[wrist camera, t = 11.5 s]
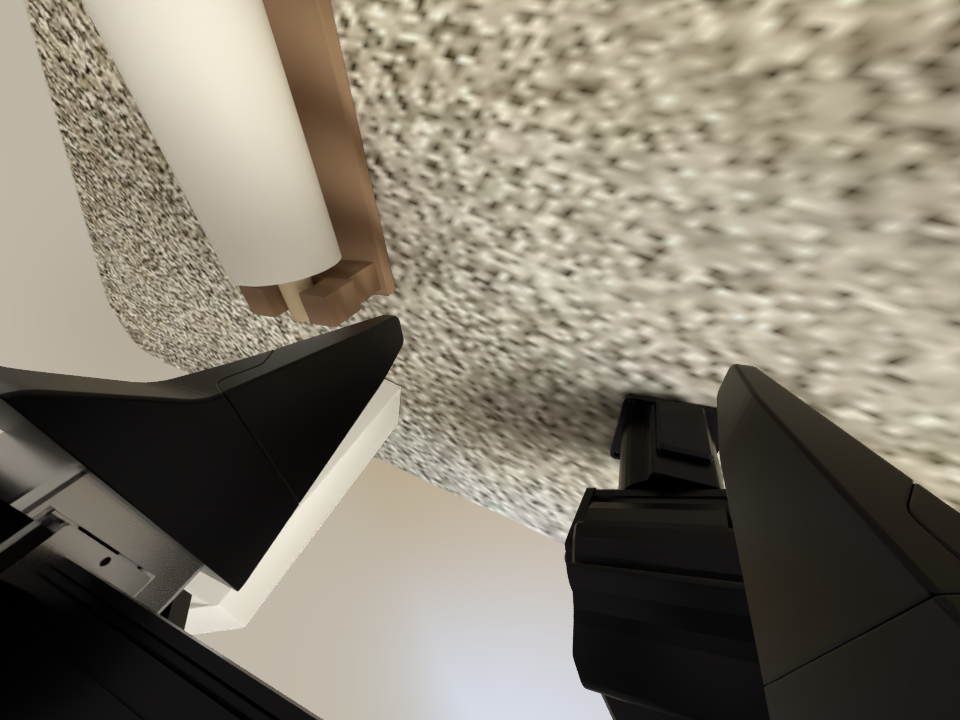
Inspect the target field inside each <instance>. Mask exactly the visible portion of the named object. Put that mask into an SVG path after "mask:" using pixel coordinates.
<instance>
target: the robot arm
mask: <svg viewBox="0 0 960 720" xmlns="http://www.w3.org/2000/svg"><path fill="white" fill-rule="evenodd" d="M403 341H404V339H403V334H402V329H401V325H400V321H399V319H398V317H396V316H393V315H381V316H378V317H375V318H372V319H369V320H366V321H363V322H359V323H356V324H353V325H350V326H347V327H344V328H340V329H337V330H334V331H331V332H328V333H325V334H322V335H318V336H315V337H312V338H309V339H306V340H303V341H300V342H296V343H293V344H290V345H287V346H284V347H281V348H278V349H276V350H271V351H268V352H265V353H262V354H258V355H255V356H252V357H249V358H245V359H242V360H239V361H235V362H232V363H228V364H225V365H221V366H217V367H214V368H210V369H206V370H203V371H199V372H195V373H192V374H188V375H185V376H181V377H177V378H174V379H169V380H165V381H158V382H147V383H142V382H141V383H140V382H127V381H118V380H109V379H100V378H91V377H82V376H73V375H64V374H54V373H46V372H37V371H29V370H21V369H14V368H7V367H2V366H0V429H1V430H2V431H4V432H3V433H1V434H0V720H323V719H321V718H320V717H318V716H316V715H315V714H313V713H311V712H310V711H309V710H307V709H305V708H304V707H302V706H301V705H299V704H298V703H296V702H295V701H293V700H292V699H290V698H288V697H287V696H285V695H284V694H282V693H281V692H279V691H278V690H276V689H275V688H273V687H271V686H270V685H268V684H266V683H265V682H264V681H262V680H261V679H259V678H257V677H256V676H254V675H253V674H251V673H250V672H248V671H247V670H245V669H243V668H242V667H240V666H239V665H237V664H236V663H234V662H233V661H231V660H229V659H228V658H226V657H225V656H223V655H222V654H220V653H218V652H217V651H215V650H214V649H212V648H210V647H209V646H208V645H206V644H205V643H203V642H201V641H200V640H198V639H197V638H195V637H194V636H192V635H191V634H189V633H187V632H186V631H184V629H185V625H186V620H187V616H188V611H189V607H190V602H191V598H192V595H191V594H190V593H189V592H187V591H186V590H184V588H185V587H186V586H187V585H188V584H189V583H190V582H191V580H192V579H193V578H194V577H195V576H196V575H197V574H198V573H199V572H202V573H204V574H206V575H208V576H210V577H211V578H213V579H215V580H217V581H219V582H221V583H222V584H224V585H226V586H228V587H230V588H232V589H233V590H235V591H237V592H238V591H239V590H240V589H241V588H242V587H243V586H244V584H245V583H246V582H247V580H248V579H249V577H250V576H251V574H252V573H253V571H254V570H255V568H256V567H257V566H258V564H259V563H260V561H261V560H262V558H263V557H264V555H265V554H266V552H267V551H268V549H269V548H270V547H271V545H272V544H273V542H274V541H275V539H276V538H277V536H278V535H279V533H280V532H281V530H282V529H283V528H284V526H285V525H286V523H287V522H288V520H289V519H290V517H291V516H292V514H293V513H294V511H295V510H296V509H297V507H298V506H299V503H300V502H301V501H302V499H303V498H304V496H305V495H306V494H307V492H308V491H309V489H310V488H311V486H312V485H313V483H314V482H315V480H316V479H317V478H318V476H319V475H320V473H321V472H322V470H323V469H324V467H325V466H326V464H327V463H328V461H329V460H330V459H331V457H332V456H333V454H334V453H335V451H336V450H337V448H338V447H339V445H340V444H341V442H342V441H343V440H344V438H345V437H346V435H347V434H348V432H349V431H350V429H351V428H352V426H353V425H354V424H355V422H356V421H357V419H358V418H359V416H360V415H361V413H362V412H363V410H364V409H365V407H366V406H367V405H368V403H369V402H370V400H371V399H372V397H373V396H374V394H375V393H376V391H377V390H378V388H379V387H380V385H381V384H382V382H383V381H384V379H385V377H386V375H387V374H388V372H389V370H390V368H391V366H392V364H393V362H394V361H395V359H396V357H397V355H398V353H399V351H400V349H401V348H402V345H403ZM629 401H634V402H629ZM718 451H719V454H720V461H721V467H722V472H723V477H724V482H725V487H726V489H724V485H723V480H722V475H721V471H720V466H719V461H718V457H717V453H718ZM616 452H617V453H616ZM610 455H611V456H612V457H613V458H615V459H619V460H620V470H619V487H618V489H596V488H587V489H586V491H585V493H584V496H583V498H582V501H581V503H580V506H579V508H578V511H577V513H576V516H575V518H574V521H573V523H572V525H571V528H570V531H569V533H568V536H567V539H566V541H565V550H566V552H565V562H566V566H567V574H568V579H569V583H570V586H571V589H572V591H573V603H574V626H573V627H574V628H573V658H574V662H575V665H576V668H577V671H578V674H579V677H580V680H581V683H582V685H583V686H584V688H586V689H588V690H592V691H595V692H598V693H601V695H602V697H603V699H604V701H605V703H606V705H607V708H608V710H609V712H610V714H611V716H612V718H613V720H960V513H959V512H957V511H956V510H955V509H953V508H952V507H950V506H949V505H947V504H946V503H944V502H943V501H942V500H940V499H939V498H938V497H936V496H935V495H933V494H932V493H931V492H929V491H928V490H926V489H925V488H924V487H922V486H921V485H919V484H916V483H915V484H913V480H912V479H911V478H910V477H908V476H907V475H905V474H904V473H903V472H901V471H900V470H898V469H897V468H896V467H894V466H893V465H891V464H890V463H889V462H887V461H886V460H884V459H883V458H882V457H880V456H879V455H877V454H876V453H875V452H873V451H872V450H870V449H869V448H868V447H866V446H865V445H863V444H862V443H861V442H859V441H858V440H856V439H855V438H854V437H852V436H851V435H849V434H848V433H847V432H845V431H844V430H842V429H841V428H840V427H838V426H837V425H835V424H834V423H833V422H831V421H830V420H828V419H827V418H826V417H824V416H823V415H822V414H820V413H819V412H817V411H816V410H815V409H813V408H812V407H810V406H809V405H808V404H806V403H805V402H803V401H802V400H801V399H799V398H798V397H796V396H795V395H794V394H792V393H791V392H789V391H788V390H787V389H785V388H784V387H782V386H781V385H780V384H778V383H777V382H775V381H774V380H773V379H771V378H770V377H768V376H767V375H766V374H764V373H763V372H761V371H760V370H759V369H757V368H756V367H753V366H748V365H741V364H733V365H732V366H731V367H730V368H729V370H728V372H727V374H726V376H725V378H724V380H723V382H722V384H721V387H720V389H719V391H718V395H717V409H712V408H707V407H701V406H696V405H690V404H685V403H679V402H674V401H668V400H662V399H657V398H651V397H646V396H640V395H635V394H628V395H626V396H624V398H623V402H622V406H621V410H620V414H619V418H618V422H617V426H616V430H615V434H614V437H613V441H612V445H611V449H610Z"/></svg>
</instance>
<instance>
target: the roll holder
mask: <svg viewBox="0 0 960 720" xmlns="http://www.w3.org/2000/svg"><path fill="white" fill-rule="evenodd" d="M262 1H263V4H264V7H265V10H266V13H267V17H268V20H269V23H270V26H271V30H272V33H273V36H274V39H275V43H276V46H277V49H278V52H279V55H280V59H281V62H282V65H283V68H284V72H285V75H286V78H287V81H288V84H289V88H290V91H291V94H292V97H293V101H294V104H295V107H296V110H297V113H298V117H299V120H300V123H301V126H302V130H303V133H304V136H305V139H306V143H307V146H308V149H309V152H310V155H311V159H312V162H313V165H314V168H315V172H316V175H317V178H318V181H319V184H320V188H321V191H322V194H323V197H324V201H325V204H326V207H327V210H328V214H329V217H330V220H331V223H332V226H333V230H334V233H335V236H336V239H337V243H338V246H339V249H340V252H341V255H342V257H341V260H340V261H339V262H338V263H337V264H336V265H334V266H333V267H331V268H329V269H327V270H325V271H323V272H321V273H319V274H316V275H313V276H311V278H312V280H313V283H314V285H313V286H311V287H310V288H308V289H306V290H304V291H302V292H301V293H299V296H300V299H301V301H302V304H303V306H304V308H305V311H306V313H307V316H308V318H309V321H310V323H312V324H318V325H324V326H330V327H337V326H339V325H340V324H341V323H343V322H344V321H345V320H347V319H348V318H349V317H351V316H352V315H353V314H355V313H356V312H358V311H359V310H360V309H361V305H360V304H361V303H362V302H364V301H365V300H367V299H368V298H369V297H371V296H372V295H374V294H376V295H384V296H389V295H390V294H392V293H393V292H394V291H395V285H394V281H393V276H392V272H391V268H390V263H389V259H388V254H387V250H386V246H385V241H384V237H383V232H382V228H381V224H380V219H379V215H378V210H377V206H376V202H375V197H374V193H373V188H372V184H371V180H370V175H369V171H368V166H367V162H366V158H365V153H364V149H363V144H362V140H361V135H360V131H359V127H358V122H357V118H356V113H355V109H354V105H353V100H352V96H351V91H350V87H349V83H348V78H347V74H346V69H345V65H344V61H343V56H342V52H341V47H340V43H339V39H338V34H337V30H336V25H335V21H334V17H333V12H332V8H331V3H330V0H262ZM239 287H240V289H241V291H242V293H243V295H244V297H245V299H246V301H247V303H248V305H249V307H250V308H251V310H252V312H253V314H258V315H264V316H270V317H277V316H278V315H280V314H282V313H283V312H285V311H287V310H289V309H288V307H287V304H286V302H285V300H284V298H283V295H282V293H281V291H280V289H279V287H278V284H277V285H270V286H254V287H251V286H239Z"/></svg>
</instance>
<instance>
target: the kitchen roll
mask: <svg viewBox="0 0 960 720" xmlns="http://www.w3.org/2000/svg"><path fill="white" fill-rule="evenodd" d="M82 2H83V4H84V6H85V8H86V9H87V11H88V13H89V15H90V17H91V19H92V21H93V23H94V25H95V26H96V28H97V30H98V32H99V34H100V36H101V38H102V40H103V42H104V43H105V45H106V47H107V49H108V51H109V53H110V55H111V57H112V59H113V60H114V62H115V64H116V66H117V68H118V70H119V72H120V74H121V75H122V77H123V79H124V81H125V83H126V85H127V87H128V89H129V91H130V92H131V94H132V96H133V98H134V100H135V102H136V104H137V106H138V108H139V109H140V111H141V113H142V115H143V117H144V119H145V121H146V123H147V124H148V126H149V128H150V130H151V132H152V134H153V136H154V138H155V140H156V141H157V143H158V145H159V147H160V149H161V151H162V153H163V155H164V157H165V158H166V160H167V162H168V164H169V166H170V168H171V170H172V172H173V173H174V175H175V177H176V179H177V181H178V183H179V185H180V187H181V189H182V190H183V192H184V194H185V196H186V198H187V200H188V202H189V204H190V206H191V207H192V209H193V211H194V213H195V215H196V217H197V219H198V221H199V222H200V224H201V226H202V228H203V230H204V232H205V234H206V236H207V238H208V239H209V241H210V243H211V245H212V247H213V249H214V251H215V253H216V255H217V256H218V258H219V260H220V262H221V264H222V266H223V268H224V270H225V271H226V273H227V275H228V277H229V279H230V281H231V282H232V283H234V284H236V285H240V286H251V287H254V286H270V285H277V284H278V287H279V289H280V291H281V293H282V295H283V298H284V300H285V302H286V304H287V307H288V309H289V311H290V313H291V316H292V318H293V320H294V321H296V322H307V321H309V318H308V316H307V313H306V311H305V308H304V306H303V304H302V301H301V299H300V296H299V293H301V292H302V291H304V290H306V289H308V288H310V287H311V286H313V285H314V283H313V280H312V278H311V276H313V275H316V274H319V273H321V272H323V271H325V270H327V269H329V268H331V267H333V266H334V265H336V264H337V263H338V262H339V261H340V260H341V257H342V255H341V252H340V249H339V246H338V243H337V239H336V236H335V233H334V230H333V226H332V223H331V220H330V217H329V214H328V210H327V207H326V204H325V201H324V197H323V194H322V191H321V188H320V184H319V181H318V178H317V175H316V172H315V168H314V165H313V162H312V159H311V155H310V152H309V149H308V146H307V143H306V139H305V136H304V133H303V130H302V126H301V123H300V120H299V117H298V113H297V110H296V107H295V104H294V101H293V97H292V94H291V91H290V88H289V84H288V81H287V78H286V75H285V72H284V68H283V65H282V62H281V59H280V55H279V52H278V49H277V46H276V43H275V39H274V36H273V33H272V30H271V26H270V23H269V20H268V17H267V13H266V10H265V7H264V4H263V1H262V0H82Z"/></svg>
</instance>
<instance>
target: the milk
mask: <svg viewBox="0 0 960 720" xmlns="http://www.w3.org/2000/svg"><path fill="white" fill-rule="evenodd" d="M400 397H401V386H399V385H396V384H394V383H392V382H390V381H388V380H386V379H384V381H383V382H382V384H381V385H380V387H379V388H378V390H377V391H376V393H375V394H374V396H373V397H372V399H371V400H370V402H369V403H368V405H367V406H366V407H365V409H364V410H363V412H362V413H361V415H360V416H359V418H358V419H357V421H356V422H355V424H354V425H353V426H352V428H351V429H350V431H349V432H348V434H347V435H346V437H345V438H344V440H343V441H342V442H341V444H340V445H339V447H338V448H337V450H336V451H335V453H334V454H333V456H332V457H331V459H330V460H329V461H328V463H327V464H326V466H325V467H324V469H323V470H322V472H321V473H320V475H319V476H318V478H317V479H316V480H315V482H314V483H313V485H312V486H311V488H310V489H309V491H308V492H307V494H306V495H305V496H304V498H303V499H302V501H301V502H300V503H299V506H298V507H297V509H296V510H295V511H294V513H293V514H292V516H291V517H290V519H289V520H288V522H287V523H286V525H285V526H284V528H283V529H282V530H281V532H280V533H279V535H278V536H277V538H276V539H275V541H274V542H273V544H272V545H271V547H270V548H269V549H268V551H267V552H266V554H265V555H264V557H263V558H262V560H261V561H260V563H259V564H258V566H257V567H256V568H255V570H254V571H253V573H252V574H251V576H250V577H249V579H248V580H247V582H246V583H245V584H244V586H243V587H242V588H241V589H240V590H239V591H238V592H237V591H235V590H233V589H232V588H230V587H228V586H226V585H224V584H222V583H221V582H219V581H217V580H215V579H213V578H211V577H210V576H208V575H206V574H204V573H202V572H199V573H198V574H197V575H196V576H195V577H194V578H193V579H192V580H191V582H190V583H189V584H188V585H187V586H186V587H185V588H184V590H186V591H187V592H189V593H190V594H191V595H192V598H191V602H190V607H189V611H188V616H187V620H186V625H185V629H184V631H186V632H187V633H189V634H191V635H195V634H202V633H209V632H217V631H224V630H231V629H239V628H244V627H245V626H246V625H247V623H248V622H249V621H250V620H251V618H252V617H253V616H254V614H255V613H256V612H257V610H258V609H259V608H260V606H261V605H262V604H263V602H264V601H265V600H266V598H267V597H268V596H269V594H270V593H271V592H272V591H273V589H274V588H275V587H276V585H277V584H278V583H279V581H280V580H281V578H282V577H283V576H284V575H285V573H286V572H287V570H288V569H289V568H290V567H291V565H292V564H293V563H294V561H295V560H296V559H297V557H298V556H299V555H300V553H301V552H302V551H303V549H304V548H305V547H306V545H307V544H308V543H309V541H310V540H311V539H312V537H313V536H314V535H315V533H316V532H317V531H318V529H319V528H320V527H321V525H322V524H323V523H324V521H325V520H326V518H327V517H328V516H329V515H330V513H331V512H332V511H333V509H334V508H335V506H336V505H337V504H338V503H339V501H340V500H341V499H342V497H343V496H344V495H345V493H346V492H347V491H348V489H349V488H350V486H351V485H352V484H353V483H354V481H355V480H356V479H357V477H358V476H359V475H360V473H361V472H362V471H363V469H364V468H365V467H366V466H367V464H368V463H369V461H370V460H371V459H372V458H373V456H374V455H375V454H376V452H377V451H378V450H379V448H380V447H381V446H382V444H383V443H384V442H385V440H386V439H387V438H388V436H389V435H390V434H391V432H392V431H393V430H394V428H395V427H396V426H397V424H398V417H399V407H400Z"/></svg>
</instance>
